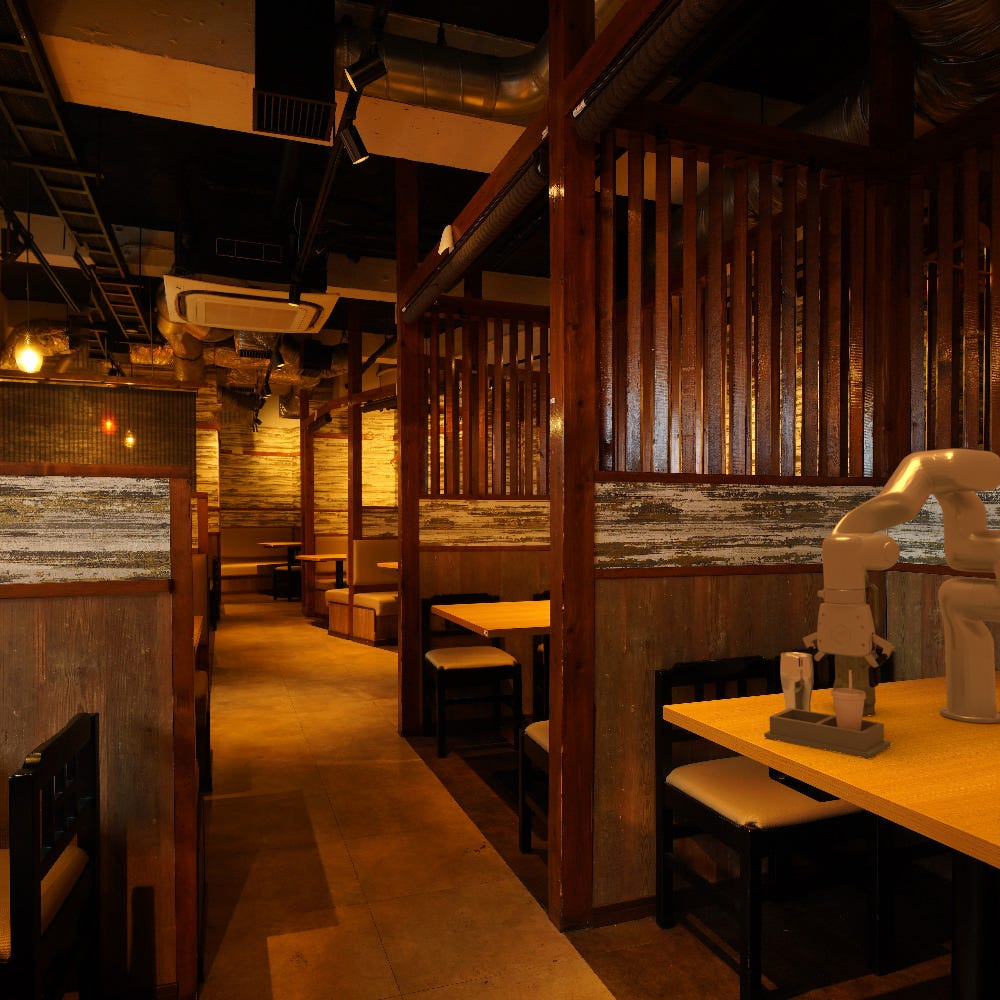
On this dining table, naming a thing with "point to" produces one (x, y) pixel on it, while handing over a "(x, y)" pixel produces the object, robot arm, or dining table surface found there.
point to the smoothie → (848, 706)
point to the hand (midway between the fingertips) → (848, 683)
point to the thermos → (859, 662)
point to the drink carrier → (827, 733)
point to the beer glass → (797, 679)
